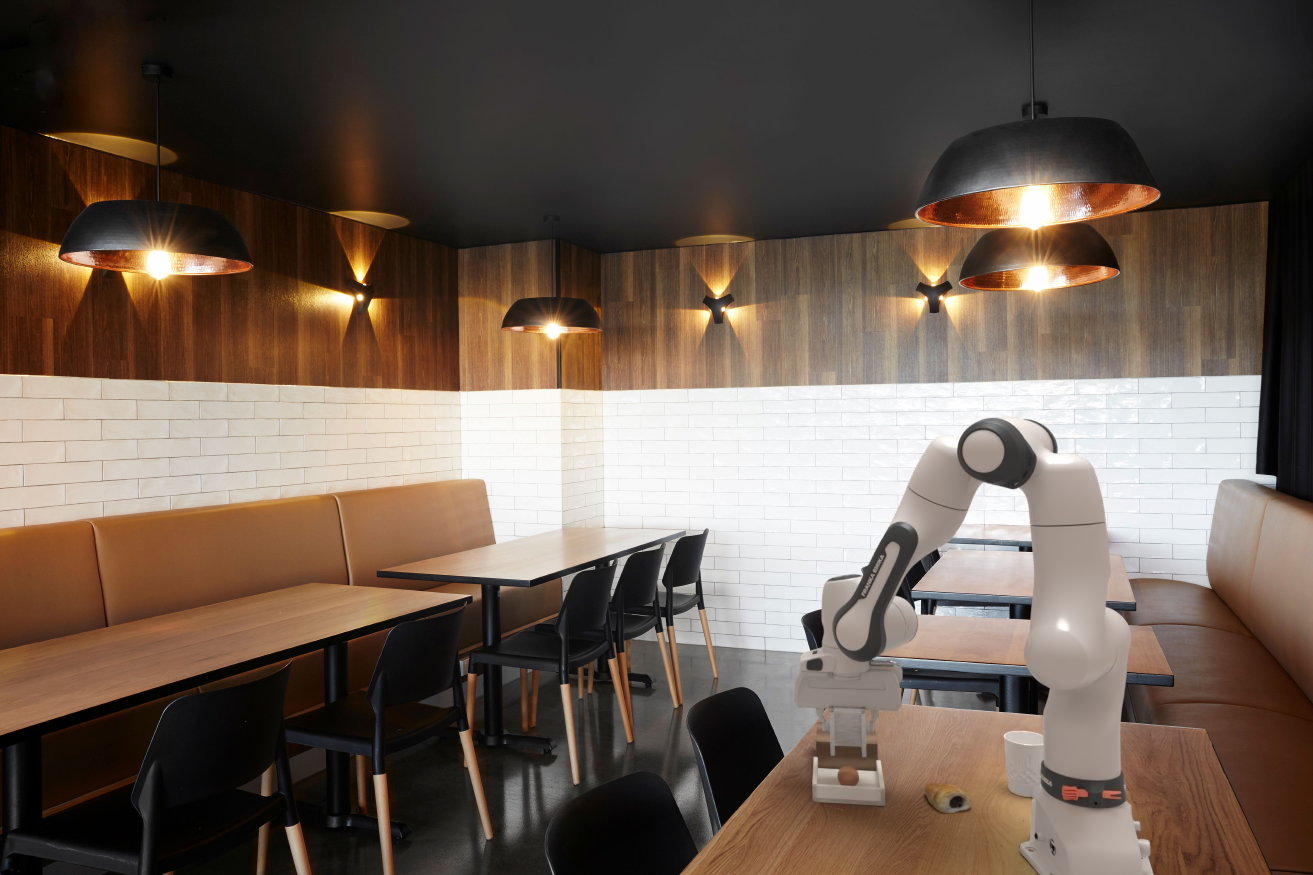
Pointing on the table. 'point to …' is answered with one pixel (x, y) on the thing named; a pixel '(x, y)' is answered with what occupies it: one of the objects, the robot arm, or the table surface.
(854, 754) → the step block
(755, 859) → the table surface
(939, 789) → the pastry
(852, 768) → the ball
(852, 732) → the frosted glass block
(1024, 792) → the white cup
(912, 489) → the robot arm
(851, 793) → the tray
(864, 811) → the table surface
